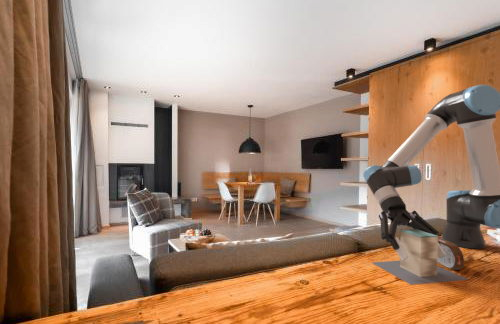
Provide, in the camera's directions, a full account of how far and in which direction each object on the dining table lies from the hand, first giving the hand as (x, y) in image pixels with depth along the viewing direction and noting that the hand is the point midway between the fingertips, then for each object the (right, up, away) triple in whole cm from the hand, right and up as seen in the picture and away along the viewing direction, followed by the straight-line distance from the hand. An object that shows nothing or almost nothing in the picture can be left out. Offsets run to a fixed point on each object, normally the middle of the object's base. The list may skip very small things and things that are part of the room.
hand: (424, 258), depth 83 cm
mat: (-1, -5, +3) cm, 6 cm away
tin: (+12, -6, +9) cm, 16 cm away
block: (-1, -5, +2) cm, 5 cm away
